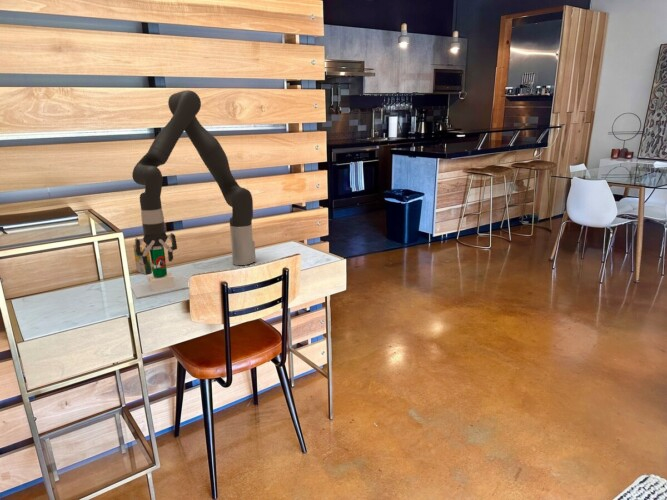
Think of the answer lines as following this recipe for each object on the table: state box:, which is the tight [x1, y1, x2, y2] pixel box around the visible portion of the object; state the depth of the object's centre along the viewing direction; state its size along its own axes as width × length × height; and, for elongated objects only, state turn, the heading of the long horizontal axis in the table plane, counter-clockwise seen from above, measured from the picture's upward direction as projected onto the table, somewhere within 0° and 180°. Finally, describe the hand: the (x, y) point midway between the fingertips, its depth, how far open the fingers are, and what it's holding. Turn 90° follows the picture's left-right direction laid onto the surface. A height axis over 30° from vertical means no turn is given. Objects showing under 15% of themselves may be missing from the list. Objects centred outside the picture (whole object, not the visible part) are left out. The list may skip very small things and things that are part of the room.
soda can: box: [149, 245, 168, 278], centre depth 173 cm, size 5×5×12 cm
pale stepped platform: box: [131, 270, 189, 300], centre depth 175 cm, size 20×14×5 cm
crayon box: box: [132, 244, 153, 276], centre depth 191 cm, size 7×3×12 cm, turn 50°
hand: (158, 263), depth 173 cm, fingers open, 8 cm apart
